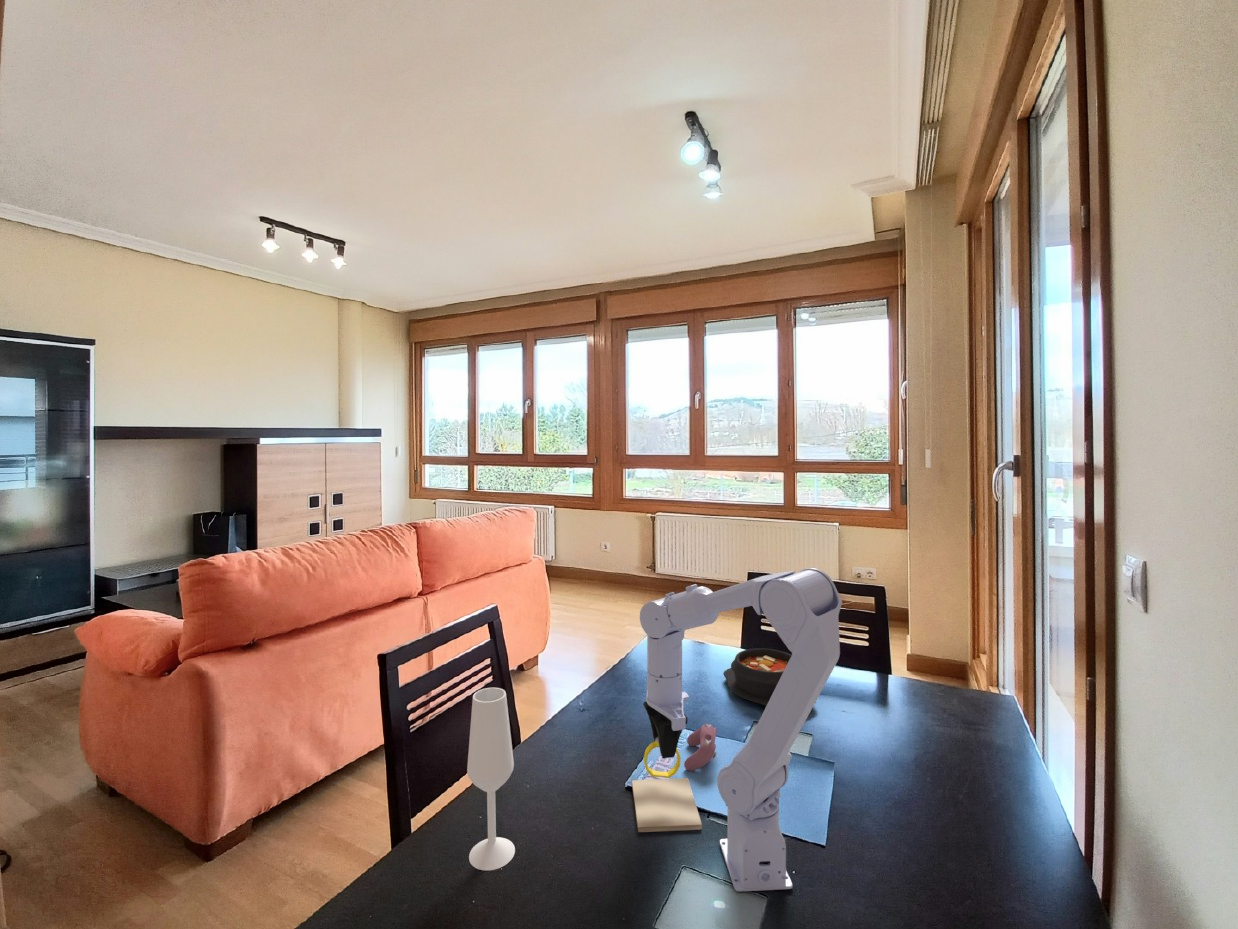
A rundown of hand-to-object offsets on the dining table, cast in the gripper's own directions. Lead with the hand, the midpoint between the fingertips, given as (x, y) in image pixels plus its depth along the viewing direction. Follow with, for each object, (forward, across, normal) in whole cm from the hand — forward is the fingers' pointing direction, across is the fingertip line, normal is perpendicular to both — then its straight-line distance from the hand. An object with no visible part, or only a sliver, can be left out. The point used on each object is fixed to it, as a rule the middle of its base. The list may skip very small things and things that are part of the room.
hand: (664, 751), depth 93 cm
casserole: (+10, +33, -36) cm, 50 cm away
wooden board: (+9, 0, 0) cm, 9 cm away
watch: (+4, 0, +1) cm, 4 cm away
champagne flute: (+10, -4, +28) cm, 30 cm away
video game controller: (+10, +12, -11) cm, 19 cm away
